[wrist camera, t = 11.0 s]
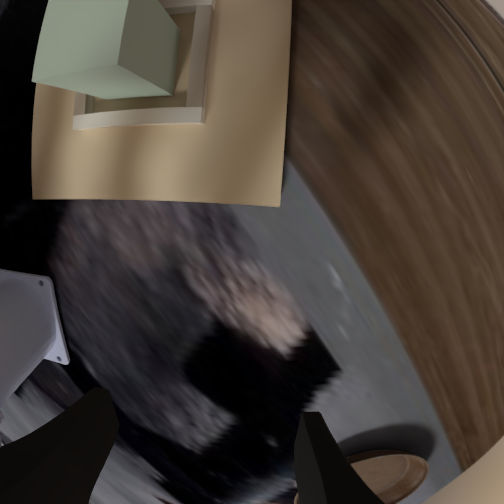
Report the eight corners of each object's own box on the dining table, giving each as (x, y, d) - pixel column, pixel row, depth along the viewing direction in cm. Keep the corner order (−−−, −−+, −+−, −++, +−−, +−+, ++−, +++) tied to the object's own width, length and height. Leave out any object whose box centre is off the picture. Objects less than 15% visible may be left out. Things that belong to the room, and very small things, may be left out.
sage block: (108, 99, 15) (31, 81, 9) (116, 37, 14) (49, -4, 7) (173, 95, 15) (117, 64, 8) (180, 30, 14) (135, -28, 7)
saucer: (265, 480, 27) (264, 500, 24) (388, 415, 24) (397, 437, 21) (338, 512, 30) (340, 527, 27) (438, 460, 26) (445, 476, 24)
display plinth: (45, 195, 19) (23, 202, 16) (67, -10, 14) (50, -22, 11) (278, 202, 18) (280, 210, 16) (291, -36, 13) (294, -56, 11)
